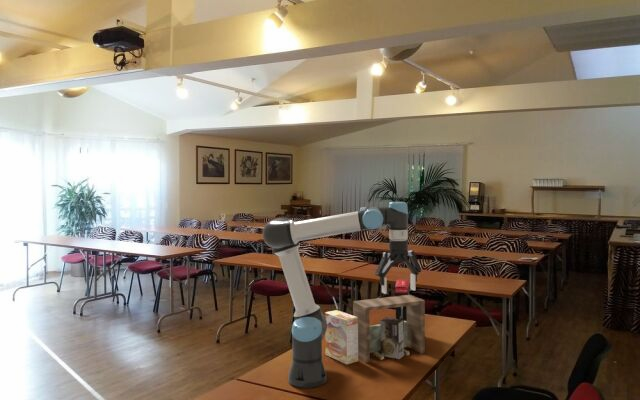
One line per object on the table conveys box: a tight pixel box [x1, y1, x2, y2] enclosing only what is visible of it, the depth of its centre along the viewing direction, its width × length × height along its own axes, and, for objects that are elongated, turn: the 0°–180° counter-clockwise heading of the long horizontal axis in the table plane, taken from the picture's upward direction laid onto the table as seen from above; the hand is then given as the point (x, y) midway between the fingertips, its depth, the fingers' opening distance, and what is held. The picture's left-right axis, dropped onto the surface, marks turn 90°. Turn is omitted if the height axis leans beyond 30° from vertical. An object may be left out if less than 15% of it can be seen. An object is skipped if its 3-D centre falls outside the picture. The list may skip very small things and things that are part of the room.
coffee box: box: [379, 316, 405, 360], centre depth 212 cm, size 9×6×16 cm
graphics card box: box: [394, 279, 410, 321], centre depth 238 cm, size 17×7×27 cm, turn 168°
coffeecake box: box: [324, 309, 359, 365], centre depth 210 cm, size 15×7×20 cm, turn 37°
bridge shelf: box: [352, 294, 426, 364], centre depth 215 cm, size 30×12×24 cm, turn 112°
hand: (398, 291), depth 194 cm, fingers open, 13 cm apart
